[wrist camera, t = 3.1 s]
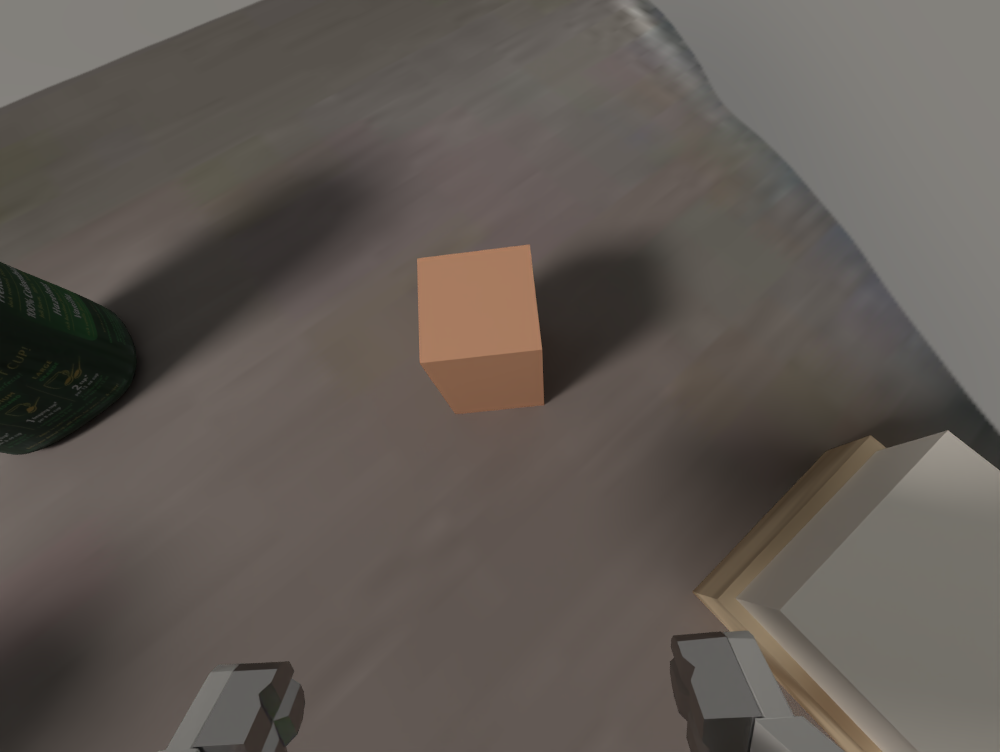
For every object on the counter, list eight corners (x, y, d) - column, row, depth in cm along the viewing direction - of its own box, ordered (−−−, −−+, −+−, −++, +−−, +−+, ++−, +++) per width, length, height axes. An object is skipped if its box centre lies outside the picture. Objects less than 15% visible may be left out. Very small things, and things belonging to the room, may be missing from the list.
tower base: (1014, 613, 22) (1110, 627, 18) (876, 786, 20) (951, 840, 17) (822, 452, 25) (870, 435, 21) (690, 591, 23) (717, 599, 20)
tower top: (1089, 628, 18) (1230, 649, 14) (943, 814, 17) (1056, 891, 13) (876, 451, 21) (948, 430, 17) (735, 598, 20) (779, 610, 16)
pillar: (544, 405, 27) (542, 349, 19) (455, 414, 27) (419, 363, 20) (534, 324, 29) (529, 244, 21) (451, 333, 29) (417, 258, 21)
